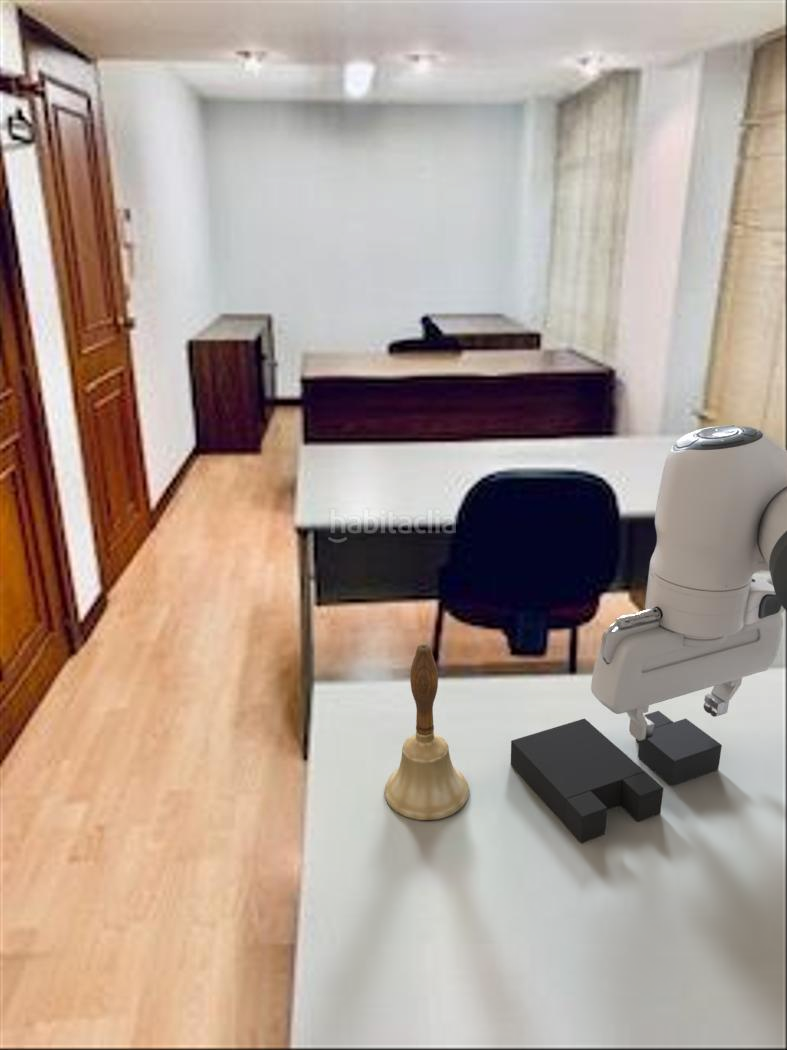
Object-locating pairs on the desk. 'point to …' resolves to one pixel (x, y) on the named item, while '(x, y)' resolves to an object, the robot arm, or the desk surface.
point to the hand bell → (425, 756)
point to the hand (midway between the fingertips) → (678, 723)
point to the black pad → (584, 777)
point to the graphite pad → (678, 750)
